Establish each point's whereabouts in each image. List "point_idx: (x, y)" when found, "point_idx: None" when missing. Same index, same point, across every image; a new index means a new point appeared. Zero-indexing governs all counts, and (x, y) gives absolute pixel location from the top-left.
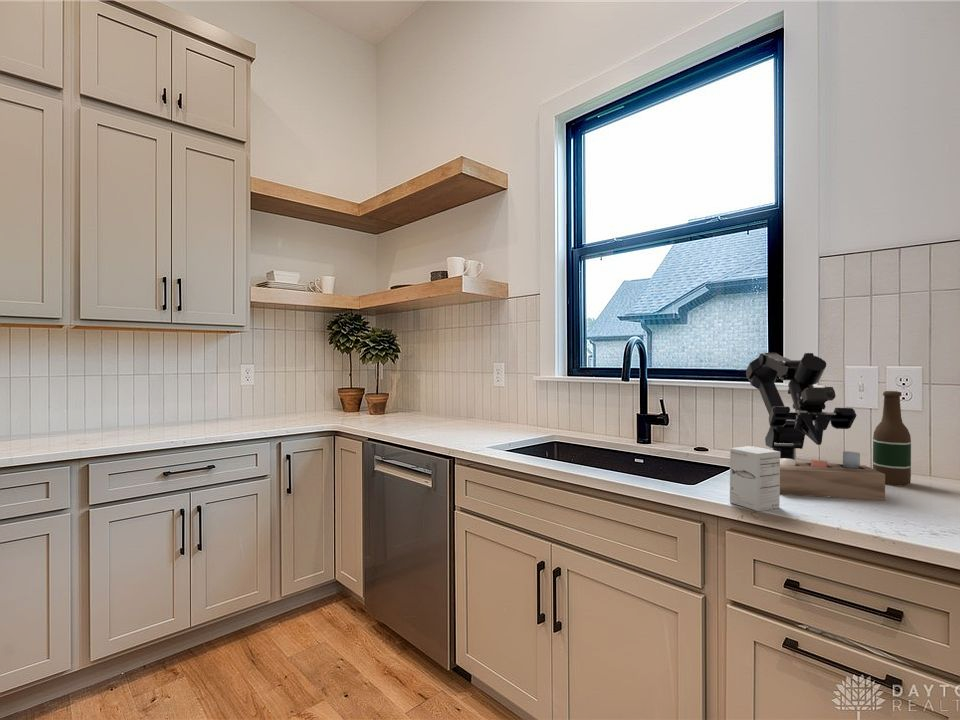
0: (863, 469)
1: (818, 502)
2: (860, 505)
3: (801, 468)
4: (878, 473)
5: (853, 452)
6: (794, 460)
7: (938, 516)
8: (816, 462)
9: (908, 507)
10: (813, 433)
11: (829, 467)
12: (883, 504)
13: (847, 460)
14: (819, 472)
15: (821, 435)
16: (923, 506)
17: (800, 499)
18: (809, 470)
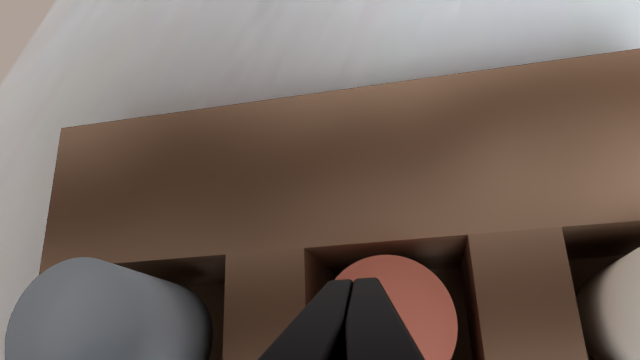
0: (110, 251)
1: (476, 29)
2: (297, 51)
3: (568, 127)
4: (85, 141)
5: (45, 346)
6: (627, 274)
7: (83, 7)
8: (421, 264)
9: (114, 95)
10: (416, 357)
11: None
12: (191, 106)
13: (161, 288)
14: (445, 81)
15: (288, 341)
16: (46, 135)
17: (558, 51)
18: (516, 72)
